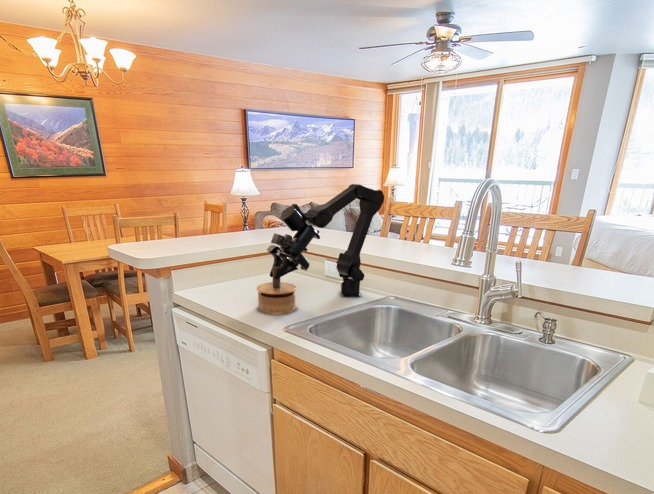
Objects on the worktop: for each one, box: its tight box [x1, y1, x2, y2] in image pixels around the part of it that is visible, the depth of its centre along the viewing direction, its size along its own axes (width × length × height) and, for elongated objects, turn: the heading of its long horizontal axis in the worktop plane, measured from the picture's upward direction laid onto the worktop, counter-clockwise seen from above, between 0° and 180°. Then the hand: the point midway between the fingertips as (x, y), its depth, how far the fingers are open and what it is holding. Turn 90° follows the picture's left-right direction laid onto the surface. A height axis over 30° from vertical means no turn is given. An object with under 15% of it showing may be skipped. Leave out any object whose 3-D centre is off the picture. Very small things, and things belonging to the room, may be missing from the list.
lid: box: [256, 265, 297, 295], centre depth 146 cm, size 13×13×8 cm
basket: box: [257, 291, 296, 315], centre depth 149 cm, size 12×12×6 cm
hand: (272, 277), depth 145 cm, fingers closed on lid, 2 cm apart
